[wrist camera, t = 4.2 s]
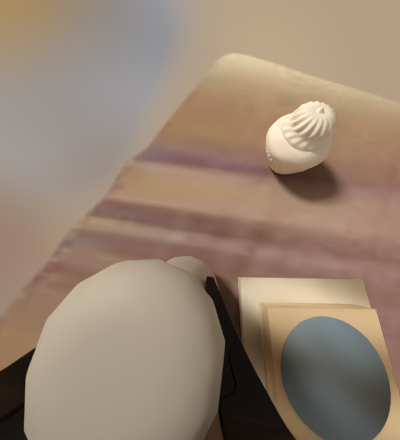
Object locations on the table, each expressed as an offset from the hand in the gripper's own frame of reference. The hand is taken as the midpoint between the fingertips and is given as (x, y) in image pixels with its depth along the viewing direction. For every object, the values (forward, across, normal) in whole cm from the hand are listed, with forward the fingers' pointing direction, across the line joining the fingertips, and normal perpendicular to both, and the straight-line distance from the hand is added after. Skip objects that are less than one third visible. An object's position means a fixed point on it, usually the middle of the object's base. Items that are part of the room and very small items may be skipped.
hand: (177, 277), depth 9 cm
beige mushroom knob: (+4, 0, +6) cm, 7 cm away
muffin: (+14, -10, -5) cm, 18 cm away
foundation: (+1, -11, +8) cm, 14 cm away
